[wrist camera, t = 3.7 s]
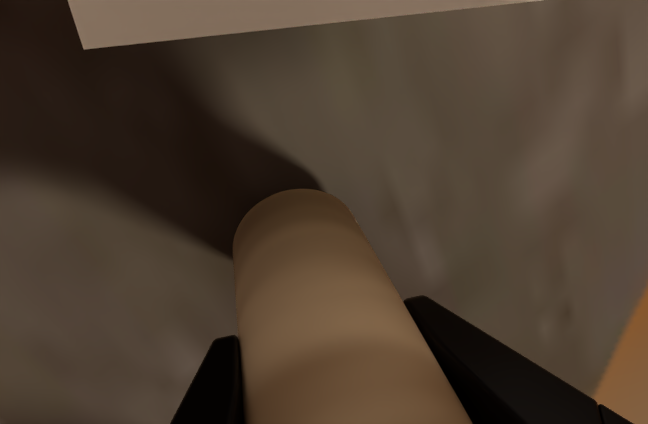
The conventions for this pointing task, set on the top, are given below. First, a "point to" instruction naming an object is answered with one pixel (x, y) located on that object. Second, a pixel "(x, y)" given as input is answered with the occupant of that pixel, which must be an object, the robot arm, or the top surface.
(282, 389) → the dowel
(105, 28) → the socket
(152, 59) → the top surface
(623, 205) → the top surface
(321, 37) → the top surface
